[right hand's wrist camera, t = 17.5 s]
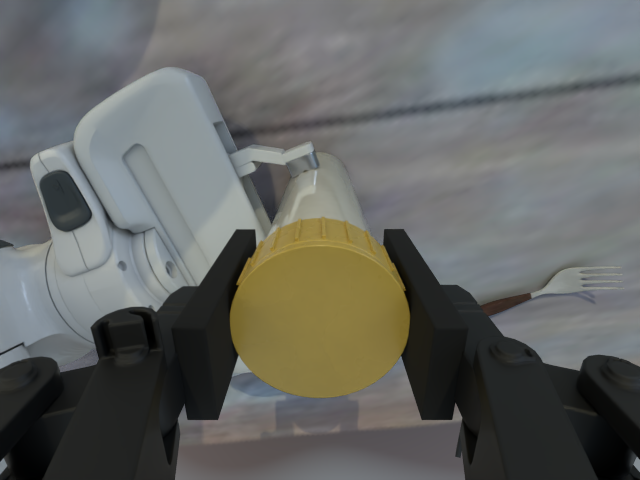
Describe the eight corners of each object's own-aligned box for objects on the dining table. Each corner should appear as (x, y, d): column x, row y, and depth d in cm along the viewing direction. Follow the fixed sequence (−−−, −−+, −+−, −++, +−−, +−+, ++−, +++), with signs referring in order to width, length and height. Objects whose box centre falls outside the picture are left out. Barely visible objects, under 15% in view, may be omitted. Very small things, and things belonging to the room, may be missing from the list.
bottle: (286, 202, 29) (233, 363, 11) (297, 146, 28) (254, 228, 10) (341, 213, 30) (374, 387, 12) (354, 159, 28) (417, 261, 10)
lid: (350, 370, 13) (356, 422, 11) (220, 316, 13) (199, 361, 10) (426, 258, 12) (450, 293, 10) (281, 187, 11) (272, 208, 9)
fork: (427, 313, 33) (433, 326, 31) (604, 255, 31) (622, 265, 29) (434, 335, 34) (441, 348, 32) (607, 280, 32) (625, 290, 30)
